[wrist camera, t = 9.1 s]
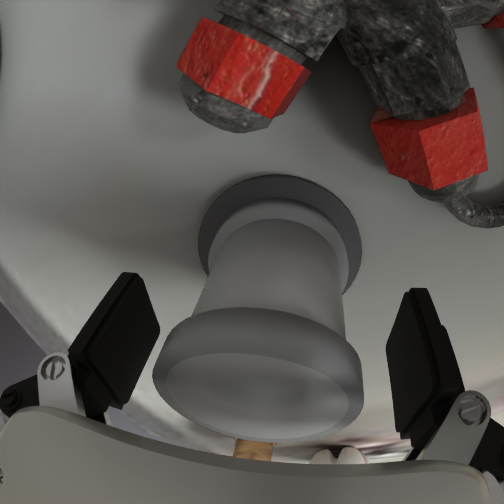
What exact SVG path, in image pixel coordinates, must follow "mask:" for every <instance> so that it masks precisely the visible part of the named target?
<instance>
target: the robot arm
mask: <svg viewBox="0 0 504 504" xmlns="http://www.w3.org/2000/svg"><path fill="white" fill-rule="evenodd" d="M159 334H160V326H159V323H158V321H157V318H156V315H155V312H154V310H153V307H152V304H151V301H150V298H149V295H148V293H147V290H146V287H145V284H144V281H143V279H142V278H141V277H140V276H139V275H138V274H137V273H129V272H123V273H122V274H121V275H120V276H119V277H118V279H117V280H116V281H115V283H114V284H113V285H112V287H111V288H110V289H109V291H108V292H107V294H106V295H105V296H104V298H103V299H102V301H101V302H100V303H99V305H98V306H97V308H96V309H95V310H94V312H93V313H92V315H91V316H90V318H89V319H88V321H87V322H86V324H85V325H84V327H83V328H82V329H81V331H80V332H79V334H78V335H77V337H76V339H75V340H74V342H73V343H72V345H71V346H70V348H69V349H68V352H69V355H68V356H66V355H65V354H63V353H59V352H56V353H52V354H50V355H48V356H46V357H45V358H44V359H43V360H42V361H41V363H40V365H39V367H38V372H37V375H35V376H32V377H30V378H28V379H25V380H23V381H21V382H18V383H16V384H14V385H11V386H10V387H8V388H7V389H5V390H4V391H3V393H2V395H1V398H0V504H504V427H503V426H501V425H500V424H499V423H497V422H496V421H494V420H493V419H492V418H490V416H491V407H490V404H489V401H488V400H487V399H486V397H485V396H484V395H482V394H481V393H479V392H477V391H472V390H469V391H465V388H464V385H463V381H462V377H461V374H460V370H459V367H458V364H457V360H456V357H455V354H454V351H453V348H452V345H451V342H450V339H449V336H448V333H447V330H446V328H445V327H444V326H443V325H441V323H440V320H439V317H438V315H437V312H436V309H435V307H434V304H433V302H432V299H431V297H430V294H429V292H428V290H427V289H426V288H411V289H410V290H409V292H405V294H404V296H403V299H402V302H401V305H400V308H399V311H398V314H397V317H396V319H395V322H394V325H393V328H392V330H391V333H390V335H389V338H388V341H387V344H386V356H387V362H388V369H389V376H390V383H391V391H392V399H393V408H394V418H395V428H396V432H400V437H401V439H410V438H411V446H412V448H411V450H410V451H409V452H408V454H407V455H406V456H405V458H404V459H403V460H402V461H398V462H386V463H370V464H298V463H283V462H271V461H261V460H253V459H245V458H238V457H231V456H225V455H219V454H213V453H208V452H202V451H198V450H193V449H188V448H184V447H180V446H176V445H172V444H168V443H164V442H160V441H157V440H153V439H150V438H146V437H143V436H139V435H136V434H133V433H130V432H127V431H123V430H121V429H118V428H115V427H112V425H111V422H110V419H109V416H108V412H107V409H108V407H109V405H110V406H111V407H114V408H117V409H120V410H122V407H123V405H124V404H126V403H127V402H128V401H129V399H130V397H131V395H132V392H133V390H134V388H135V386H136V384H137V381H138V379H139V377H140V375H141V373H142V370H143V368H144V366H145V364H146V362H147V360H148V358H149V356H150V353H151V351H152V349H153V347H154V345H155V343H156V341H157V339H158V337H159Z"/></svg>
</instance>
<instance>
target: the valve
mask: <svg viewBox="0 0 504 504" xmlns="http://www.w3.org/2000/svg"><path fill="white" fill-rule="evenodd" d="M215 10H217V11H218V12H220V13H221V14H223V15H224V16H223V17H222V19H221V21H220V22H219V23H216V22H214V21H212V20H209V19H207V18H204V17H202V18H201V20H200V22H199V24H198V25H197V27H196V29H195V31H194V32H193V34H192V36H191V38H190V40H189V41H188V43H187V45H186V47H185V49H184V51H183V53H182V55H181V57H180V59H179V60H178V62H177V64H176V67H177V68H178V69H180V70H181V71H182V72H184V75H183V77H182V79H181V81H180V83H179V87H180V90H181V93H182V95H183V97H184V99H185V101H186V104H187V106H188V108H189V110H190V111H191V112H192V113H194V114H195V115H196V116H197V117H199V118H200V119H202V120H204V121H205V122H207V123H209V124H211V125H213V126H216V127H218V128H220V129H223V130H226V131H230V132H233V133H246V132H250V131H255V130H260V129H264V128H267V127H268V126H269V124H270V123H271V121H272V120H273V118H274V117H276V116H279V115H281V114H283V113H284V112H285V111H286V109H287V108H288V106H289V105H290V103H291V102H292V100H293V99H294V97H295V96H296V94H297V93H298V91H299V90H300V88H301V87H302V85H303V84H304V82H305V81H306V79H307V78H308V77H309V75H310V74H311V71H310V70H308V69H307V68H305V67H303V66H302V64H303V62H304V61H305V59H306V58H309V59H312V60H315V61H318V59H319V58H320V56H321V55H322V53H323V52H324V50H325V49H326V47H327V46H328V45H329V43H330V42H331V40H332V39H333V37H334V36H335V35H336V37H337V38H338V40H339V42H340V44H341V46H342V47H343V49H344V51H345V53H346V55H347V57H348V59H349V61H350V63H351V64H353V65H358V67H359V69H360V71H361V73H362V75H363V78H364V80H365V82H366V84H367V86H368V88H369V91H370V93H371V95H372V97H373V100H374V102H375V104H377V105H379V107H378V109H377V111H376V113H375V115H374V116H373V118H372V120H371V122H370V126H371V128H372V131H373V133H374V135H375V138H376V141H377V143H378V146H379V148H380V151H381V154H382V156H383V159H384V162H385V165H386V167H387V170H388V173H389V174H392V175H394V176H397V177H400V178H403V179H406V180H408V182H409V183H410V185H411V186H412V188H413V189H414V191H415V192H416V193H417V194H419V195H420V196H421V197H423V198H426V199H428V200H431V201H443V202H444V204H445V206H446V207H447V209H448V210H449V211H450V212H451V213H452V214H453V215H454V216H455V217H457V218H458V219H459V220H460V221H462V222H464V223H466V224H468V225H470V226H473V227H480V228H493V227H500V226H503V225H504V202H502V203H499V204H496V205H493V206H485V205H480V204H477V203H475V202H473V201H471V200H470V199H468V197H467V196H466V195H467V194H469V193H470V192H471V191H472V190H473V189H474V187H475V186H476V184H477V179H478V175H479V173H481V172H484V171H486V170H488V167H487V156H486V147H485V139H484V133H483V127H482V122H481V117H480V113H479V108H478V104H477V99H476V95H475V91H474V88H470V86H469V82H468V79H467V75H466V72H465V69H464V66H463V62H462V59H461V56H460V54H459V51H458V48H457V45H456V42H455V41H456V39H457V37H456V34H455V32H454V29H455V28H460V27H465V26H470V25H476V24H481V25H482V26H483V28H504V0H221V1H220V2H219V4H218V5H217V7H216V8H215Z"/></svg>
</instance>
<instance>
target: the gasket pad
mask: <svg viewBox="0 0 504 504" xmlns="http://www.w3.org/2000/svg"><path fill="white" fill-rule="evenodd" d="M265 198H289V199H294V200H298V201H302V202H304V203H307V204H310V205H311V206H313V207H315V208H317V209H319V210H320V211H321V212H323V213H324V214H326V215H327V216H328V217H329V218H330V219H331V220H332V221H333V222H334V224H335V225H336V226H337V228H338V229H339V231H340V233H341V235H342V237H343V240H344V243H345V247H346V252H347V258H348V265H349V273H348V279H347V283H346V286H345V288H344V290H343V292H342V295H343V294H344V293H345V292H346V291H347V289H348V288H349V287H350V286H351V284H352V282H353V281H354V279H355V277H356V275H357V273H358V270H359V267H360V263H361V256H362V246H361V239H360V235H359V231H358V227H357V225H356V222H355V220H354V218H353V216H352V215H351V213H350V211H349V210H348V208H347V207H346V206H345V205H344V204H343V202H342V201H341V200H340V199H339V198H337V197H336V196H335V195H334V194H333V193H331V192H330V191H329V190H327V189H326V188H324V187H322V186H320V185H318V184H316V183H314V182H312V181H309V180H306V179H303V178H299V177H295V176H289V175H265V176H259V177H254V178H251V179H248V180H245V181H242V182H240V183H238V184H236V185H234V186H233V187H231V188H230V189H228V190H227V191H225V192H224V193H223V194H222V195H221V196H220V197H219V198H217V200H216V201H215V202H214V203H213V205H212V206H211V207H210V209H209V210H208V212H207V214H206V216H205V217H204V219H203V222H202V225H201V227H200V232H199V239H198V248H199V255H200V259H201V263H202V265H203V268H204V270H205V272H206V274H207V276H208V277H209V274H210V273H209V267H208V257H209V251H210V248H211V245H212V243H213V241H214V238H215V236H216V234H217V232H218V231H219V229H220V227H221V225H222V224H223V222H224V221H225V220H226V219H227V217H228V216H229V215H230V214H232V213H233V212H234V211H235V210H236V209H238V208H240V207H241V206H243V205H245V204H248V203H250V202H252V201H256V200H260V199H265Z"/></svg>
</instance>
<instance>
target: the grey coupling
mask: <svg viewBox="0 0 504 504" xmlns="http://www.w3.org/2000/svg"><path fill="white" fill-rule="evenodd" d="M208 267H209V273H210V274H209V277H208V279H207V281H206V283H205V286H204V288H203V290H202V293H201V295H200V297H199V300H198V302H197V304H196V307H195V309H194V312H193V314H192V316H191V317H189V318H187V319H185V320H183V321H182V322H180V323H179V324H178V325H177V326H175V327H174V328H173V329H172V331H171V332H170V333H169V335H168V336H167V339H166V341H165V343H164V345H163V347H162V350H161V352H160V354H159V356H158V359H157V361H156V363H155V366H154V368H153V374H152V378H153V383H154V385H155V388H156V390H157V391H158V393H159V394H160V396H161V397H162V398H163V399H164V401H165V402H166V403H167V404H168V405H169V406H171V407H172V408H173V409H174V410H175V411H177V412H178V413H179V414H181V415H182V416H184V417H185V418H187V419H189V420H190V421H192V422H194V423H196V424H198V425H200V426H202V427H205V428H207V429H209V430H212V431H215V432H218V433H221V434H224V435H227V436H231V437H235V438H239V439H244V440H250V441H257V442H269V443H290V442H301V441H307V440H313V439H317V438H321V437H324V436H327V435H330V434H333V433H335V432H337V431H339V430H341V429H343V428H345V427H346V426H348V425H349V424H351V423H352V422H353V421H354V420H355V419H356V418H357V417H358V415H359V414H360V412H361V410H362V408H363V404H364V392H363V378H362V367H361V361H360V359H359V357H358V354H357V353H356V351H355V350H354V348H353V347H352V346H351V345H350V344H349V343H348V342H347V341H346V336H345V323H344V312H343V301H342V292H343V290H344V288H345V286H346V283H347V279H348V273H349V265H348V258H347V252H346V247H345V243H344V240H343V237H342V235H341V233H340V231H339V229H338V228H337V226H336V225H335V224H334V222H333V221H332V220H331V219H330V218H329V217H328V216H327V215H326V214H324V213H323V212H321V211H320V210H319V209H317V208H315V207H313V206H311V205H310V204H307V203H304V202H302V201H298V200H294V199H289V198H265V199H260V200H256V201H252V202H250V203H248V204H245V205H243V206H241V207H240V208H238V209H236V210H235V211H234V212H233V213H232V214H230V215H229V216H228V217H227V219H226V220H225V221H224V222H223V224H222V225H221V227H220V229H219V231H218V232H217V234H216V236H215V238H214V241H213V243H212V245H211V248H210V251H209V257H208Z"/></svg>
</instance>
